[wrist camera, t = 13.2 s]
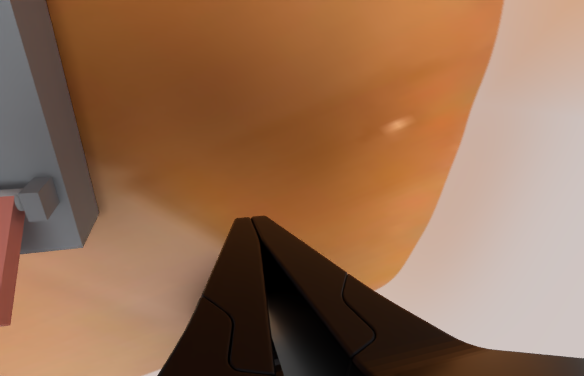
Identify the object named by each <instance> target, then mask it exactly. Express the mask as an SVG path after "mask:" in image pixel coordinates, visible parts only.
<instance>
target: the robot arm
mask: <svg viewBox="0 0 584 376" xmlns="http://www.w3.org/2000/svg"><path fill="white" fill-rule="evenodd" d="M158 376H584V358H573V357H563V356H553V355H542V354H531V353H522V352H512V351H501V350H492V349H486V348H481V347H477V346H474V345H471V344H468V343H465V342H463V341H461V340H458V339H456V338H454V337H453V336H451V335H449V334H447V333H445V332H443V331H442V330H440V329H438V328H437V327H435V326H433V325H431V324H430V323H428V322H426V321H424V320H422V319H421V318H419V317H417V316H415V315H414V314H412V313H410V312H409V311H407V310H405V309H403V308H401V307H400V306H398V305H396V304H395V303H393V302H391V301H389V300H388V299H386V298H385V297H383V296H381V295H380V294H378V293H377V292H375V291H374V290H372V289H371V288H369V287H368V286H366V285H364V284H363V283H361V282H360V281H359V280H357V279H356V278H354V277H353V276H351V275H350V274H348V275H347V272H345V271H344V270H343V269H341V268H340V267H338V266H337V265H335V264H334V263H333V262H331V261H330V260H328V259H327V258H325V257H324V256H323V255H321V254H320V253H318V252H317V251H315V250H314V249H312V248H311V247H310V246H308V245H307V244H305V243H304V242H302V241H301V240H300V239H298V238H297V237H295V236H294V235H292V234H291V233H290V232H288V231H287V230H285V229H284V228H282V227H281V226H280V225H278V224H277V223H275V222H274V221H272V220H271V219H269V218H268V217H267V216H255V217H252V218H251V219H250V218H249V217H244V218H236V219H235V220H234V223H233V225H232V227H231V229H230V232H229V234H228V236H227V239H226V241H225V243H224V245H223V248H222V250H221V252H220V254H219V257H218V259H217V261H216V264H215V266H214V268H213V270H212V273H211V275H210V277H209V280H208V282H207V284H206V286H205V289H204V291H203V293H202V296H201V298H200V300H199V302H198V304H197V306H196V309H195V311H194V313H193V315H192V317H191V319H190V321H189V323H188V325H187V327H186V329H185V331H184V333H183V334H182V336H181V338H180V339H179V341H178V343H177V345H176V346H175V348H174V350H173V351H172V353H171V355H170V356H169V358H168V359H167V361H166V363H165V364H164V366H163V368H162V369H161V371H160V372H159V374H158Z"/></svg>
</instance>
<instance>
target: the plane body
mask: <svg viewBox="0 0 584 376" xmlns="http://www.w3.org/2000/svg"><path fill="white" fill-rule="evenodd" d="M22 188H23V189H22ZM4 189H22V190H21V191H20V192H19V193H18V195H19V198H20V200H21V203H22V206H23V208H24V211H25V220H24V227H23V234H22V242H21V249H20V254H27V253H36V252H46V251H55V250H65V249H74V248H83V246H84V244H85V242H86V240H87V238H88V236H89V234H90V231H91V229H92V227H93V225H94V223H95V221H96V219H97V216H98V214H99V211H98V207H97V203H96V199H95V195H94V191H93V187H92V183H91V179H90V175H89V171H88V167H87V163H86V159H85V155H84V151H83V147H82V143H81V139H80V135H79V131H78V127H77V123H76V119H75V115H74V111H73V107H72V103H71V99H70V95H69V91H68V87H67V83H66V79H65V75H64V71H63V67H62V63H61V59H60V55H59V51H58V47H57V43H56V39H55V35H54V31H53V27H52V23H51V19H50V15H49V11H48V7H47V3H46V0H0V190H4Z"/></svg>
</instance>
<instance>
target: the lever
mask: <svg viewBox="0 0 584 376" xmlns="http://www.w3.org/2000/svg"><path fill="white" fill-rule="evenodd" d="M22 189H23V188H22ZM22 189H4V190H0V327H1V326H8V325H10V323H11V316H12V308H13V301H14V293H15V286H16V279H17V271H18V264H19V257H20V249H21V242H22V234H23V227H24V220H25V211H24V208H23V206H22V203H21V200H20V198H19V195H18V193H19V192H20V191H21V190H22Z"/></svg>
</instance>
